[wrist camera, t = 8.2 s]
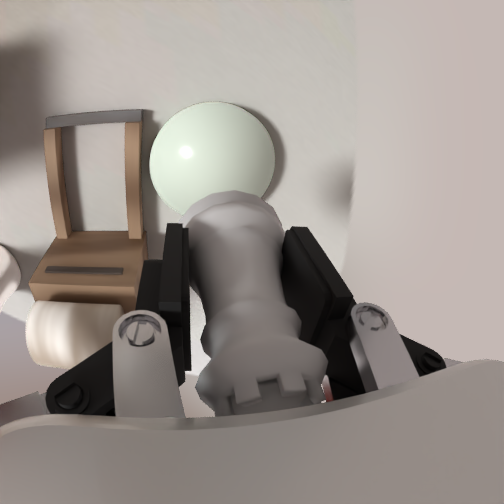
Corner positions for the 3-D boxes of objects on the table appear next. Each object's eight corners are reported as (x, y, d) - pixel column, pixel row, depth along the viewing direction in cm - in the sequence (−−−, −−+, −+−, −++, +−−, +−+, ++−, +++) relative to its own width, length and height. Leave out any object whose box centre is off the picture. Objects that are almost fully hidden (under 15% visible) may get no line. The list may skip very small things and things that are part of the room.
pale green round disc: (154, 99, 17) (152, 100, 17) (280, 108, 19) (284, 109, 19) (151, 214, 22) (150, 220, 21) (262, 217, 24) (265, 222, 23)
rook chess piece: (299, 212, 12) (400, 367, 6) (247, 289, 14) (291, 448, 8) (203, 167, 11) (227, 339, 4) (159, 259, 12) (149, 441, 6)
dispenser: (47, 117, 16) (-52, 166, 7) (146, 109, 18) (96, 144, 8) (70, 277, 24) (34, 378, 15) (149, 279, 26) (139, 389, 16)
